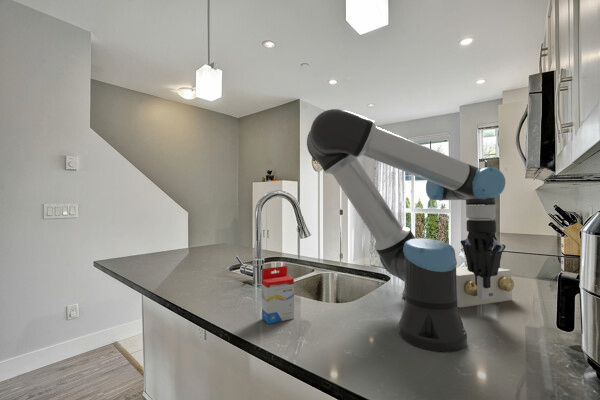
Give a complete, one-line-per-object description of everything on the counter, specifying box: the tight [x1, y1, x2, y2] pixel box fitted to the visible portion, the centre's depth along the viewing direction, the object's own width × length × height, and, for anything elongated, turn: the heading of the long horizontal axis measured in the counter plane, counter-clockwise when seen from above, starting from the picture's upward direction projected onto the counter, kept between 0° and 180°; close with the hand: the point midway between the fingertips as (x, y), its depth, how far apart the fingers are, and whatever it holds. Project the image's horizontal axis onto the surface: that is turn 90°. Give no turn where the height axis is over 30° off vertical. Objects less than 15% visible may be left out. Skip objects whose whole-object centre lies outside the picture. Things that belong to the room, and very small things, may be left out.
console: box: [456, 266, 513, 309], centre depth 94 cm, size 22×9×10 cm, turn 106°
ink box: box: [261, 265, 295, 325], centre depth 81 cm, size 8×5×15 cm, turn 117°
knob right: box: [498, 277, 515, 292], centre depth 94 cm, size 4×9×4 cm, turn 16°
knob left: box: [464, 280, 477, 296], centre depth 90 cm, size 4×9×4 cm, turn 16°
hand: (483, 297), depth 83 cm, fingers closed
